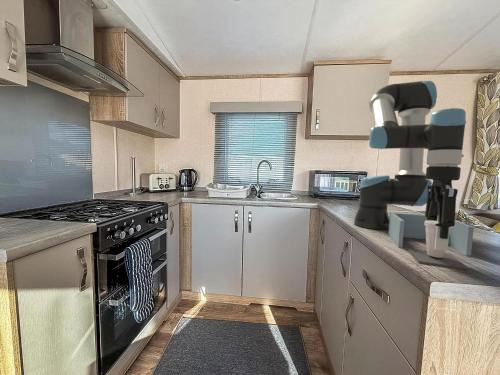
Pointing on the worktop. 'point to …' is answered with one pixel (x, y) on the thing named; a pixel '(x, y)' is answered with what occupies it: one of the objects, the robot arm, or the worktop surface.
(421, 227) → the open frame
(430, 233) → the smoothie
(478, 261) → the worktop surface
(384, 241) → the worktop surface
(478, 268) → the worktop surface
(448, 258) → the mat
